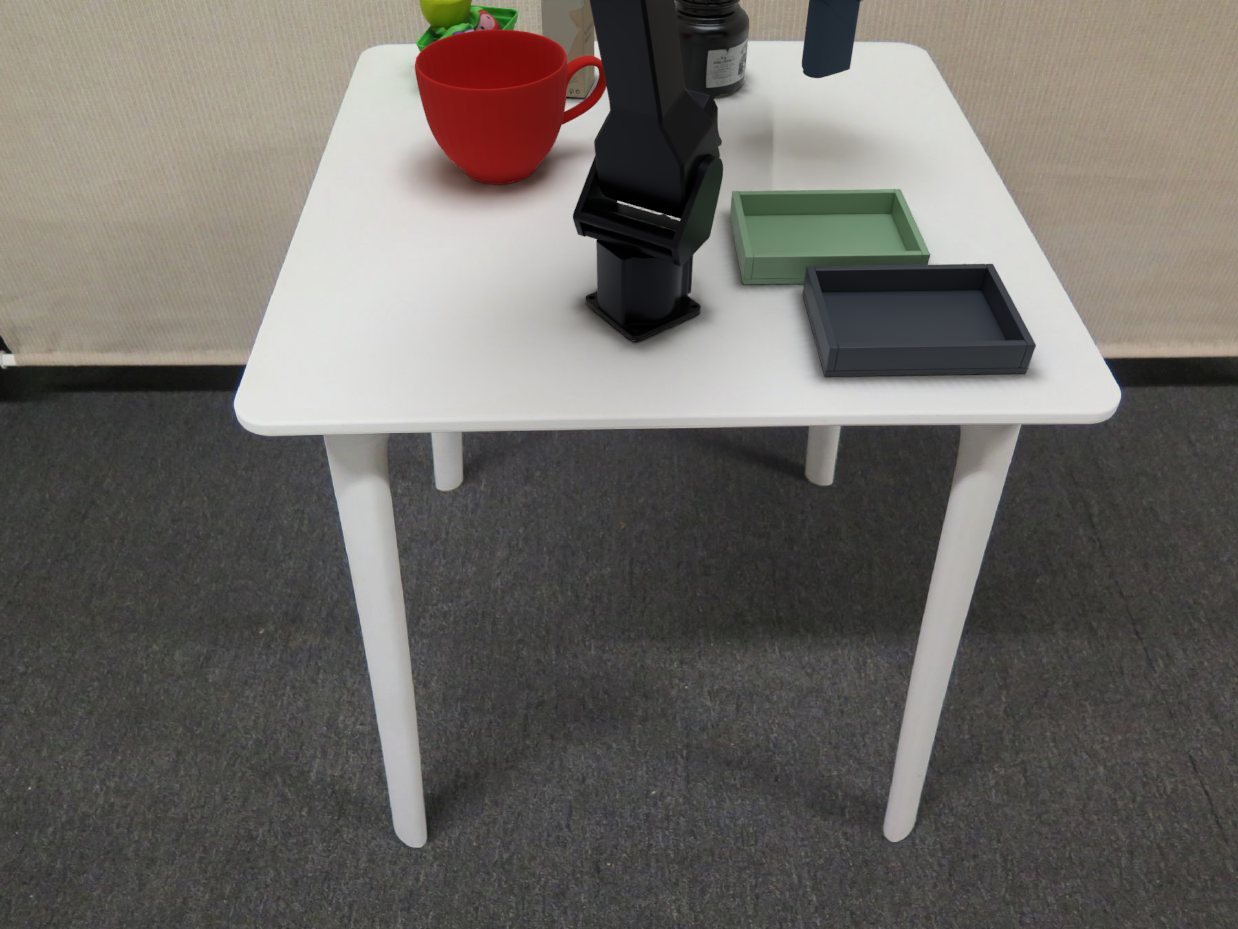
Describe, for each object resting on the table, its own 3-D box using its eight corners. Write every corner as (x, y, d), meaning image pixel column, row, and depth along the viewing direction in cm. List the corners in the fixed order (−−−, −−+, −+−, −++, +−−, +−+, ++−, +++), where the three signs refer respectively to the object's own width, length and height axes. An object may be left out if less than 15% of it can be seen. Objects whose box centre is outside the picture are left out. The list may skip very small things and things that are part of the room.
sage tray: (743, 284, 79) (745, 256, 77) (729, 217, 86) (731, 190, 85) (923, 282, 79) (930, 254, 78) (895, 215, 87) (900, 188, 85)
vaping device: (856, 69, 95) (878, -72, 87) (813, 81, 93) (831, -62, 84) (837, 60, 96) (857, -79, 88) (794, 71, 94) (811, -69, 86)
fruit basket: (490, 100, 103) (479, -16, 95) (409, 92, 105) (391, -24, 97) (524, 57, 111) (516, -54, 103) (447, 49, 113) (434, -61, 105)
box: (584, 99, 103) (582, -15, 96) (544, 96, 104) (538, -18, 96) (596, 78, 107) (594, -33, 99) (556, 75, 108) (551, -36, 100)
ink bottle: (729, 106, 102) (739, -19, 94) (646, 93, 104) (649, -31, 96) (755, 69, 109) (766, -51, 100) (677, 57, 111) (681, -61, 103)
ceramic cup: (631, 180, 91) (632, 69, 84) (447, 213, 87) (432, 99, 80) (585, 119, 100) (583, 15, 93) (416, 147, 96) (400, 40, 89)
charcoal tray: (824, 376, 71) (829, 348, 69) (802, 293, 78) (806, 265, 76) (1026, 373, 71) (1036, 344, 69) (984, 291, 78) (993, 263, 77)
